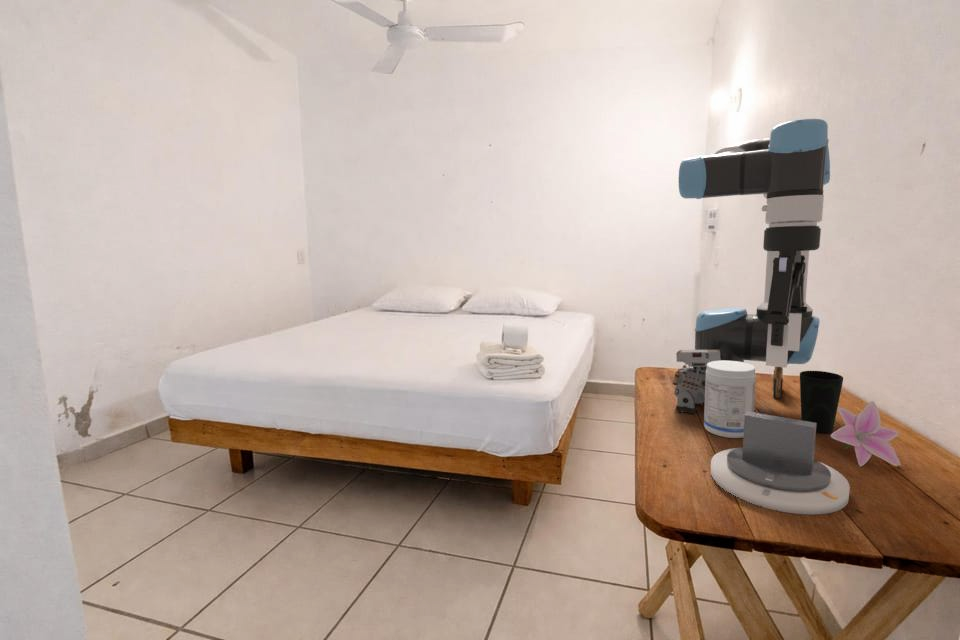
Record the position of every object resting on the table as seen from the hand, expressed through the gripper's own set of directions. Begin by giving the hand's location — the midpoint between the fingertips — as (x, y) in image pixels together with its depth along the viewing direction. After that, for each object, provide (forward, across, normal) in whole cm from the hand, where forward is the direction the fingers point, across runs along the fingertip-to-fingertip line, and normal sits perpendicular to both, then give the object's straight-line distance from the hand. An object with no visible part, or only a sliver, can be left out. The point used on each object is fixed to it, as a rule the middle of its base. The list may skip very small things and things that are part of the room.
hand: (783, 357), depth 80 cm
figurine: (+22, -31, -21) cm, 44 cm away
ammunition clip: (+22, -56, -8) cm, 61 cm away
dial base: (+22, 0, 0) cm, 22 cm away
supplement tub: (+22, -20, -12) cm, 32 cm away
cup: (+22, -32, +3) cm, 39 cm away
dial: (+19, 0, 0) cm, 20 cm away
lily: (+22, -20, +11) cm, 32 cm away
